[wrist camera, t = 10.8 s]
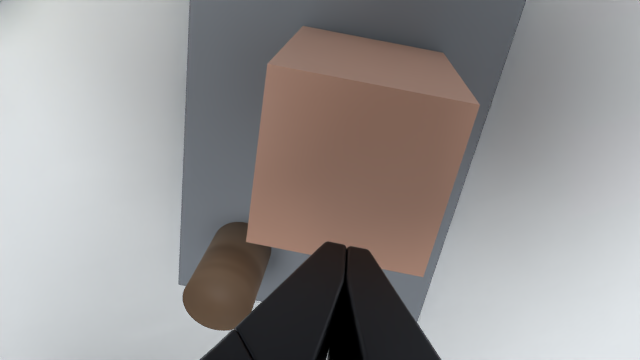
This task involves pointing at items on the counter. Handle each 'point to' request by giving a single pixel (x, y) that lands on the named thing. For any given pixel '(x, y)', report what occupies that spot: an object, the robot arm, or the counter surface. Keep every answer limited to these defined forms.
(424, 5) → the board
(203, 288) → the walnut post
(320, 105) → the terracotta colored cuboid
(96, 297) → the counter surface
